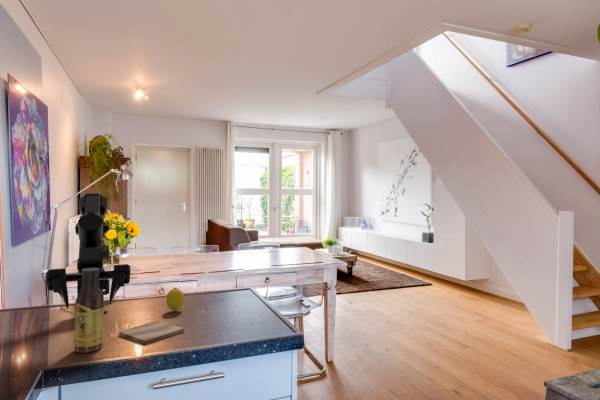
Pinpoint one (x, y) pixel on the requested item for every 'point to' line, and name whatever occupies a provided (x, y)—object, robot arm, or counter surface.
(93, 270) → the sauce bottle
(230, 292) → the counter surface
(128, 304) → the counter surface
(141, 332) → the walnut board
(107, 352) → the counter surface
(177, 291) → the lemon
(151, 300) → the counter surface
